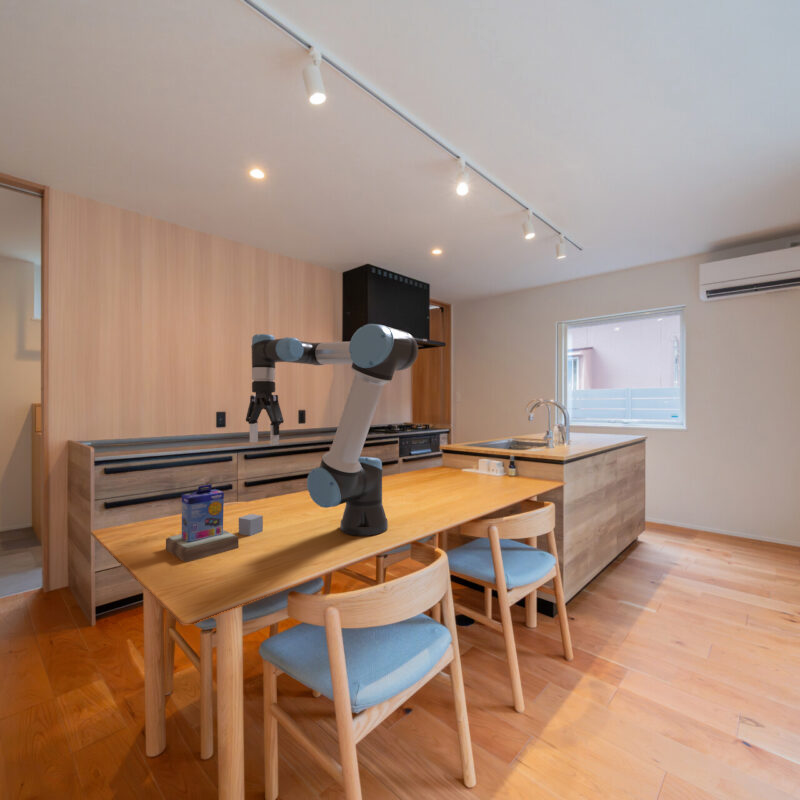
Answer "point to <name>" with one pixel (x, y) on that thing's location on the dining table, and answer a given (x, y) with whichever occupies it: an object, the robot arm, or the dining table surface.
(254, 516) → the slate block
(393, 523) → the dining table surface
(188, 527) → the ink cartridge box
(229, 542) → the podium
